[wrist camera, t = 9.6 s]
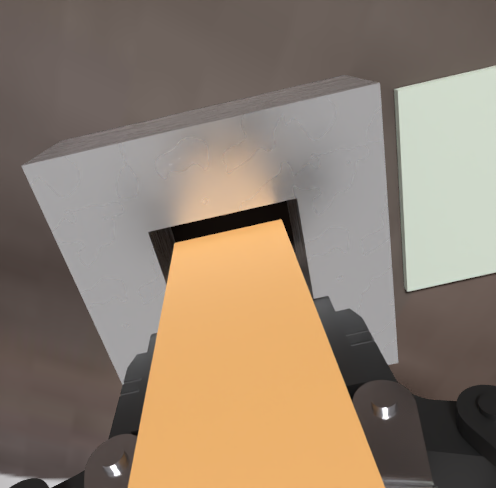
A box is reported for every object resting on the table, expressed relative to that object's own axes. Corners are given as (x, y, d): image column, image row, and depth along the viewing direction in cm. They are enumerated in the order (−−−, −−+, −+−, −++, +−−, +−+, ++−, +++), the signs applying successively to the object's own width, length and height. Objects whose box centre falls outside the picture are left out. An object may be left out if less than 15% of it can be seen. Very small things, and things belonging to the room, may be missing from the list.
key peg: (174, 242, 15) (81, 725, 4) (281, 219, 15) (448, 654, 4) (202, 328, 17) (183, 822, 6) (298, 307, 17) (446, 772, 6)
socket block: (61, 140, 17) (21, 165, 14) (344, 75, 17) (380, 82, 13) (150, 359, 23) (138, 419, 19) (368, 311, 22) (398, 362, 19)
